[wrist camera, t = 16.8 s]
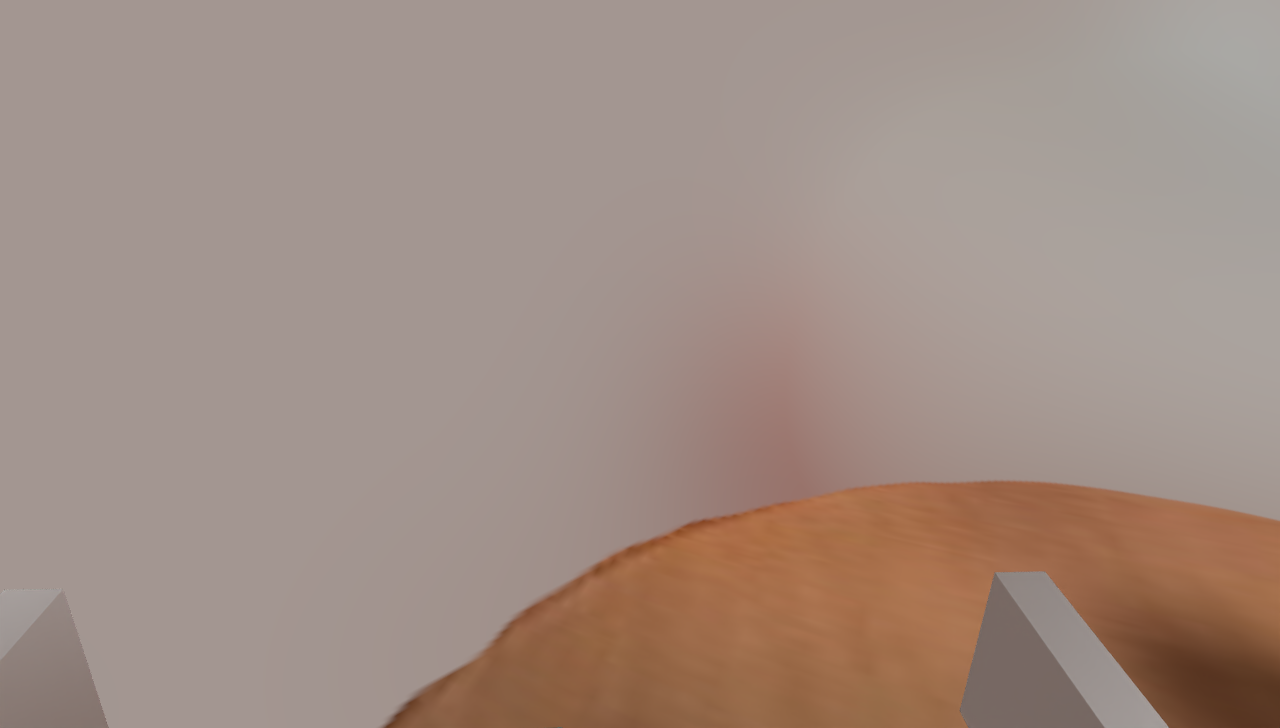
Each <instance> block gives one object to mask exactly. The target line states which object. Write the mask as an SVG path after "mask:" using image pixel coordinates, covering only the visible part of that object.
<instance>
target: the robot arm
mask: <svg viewBox="0 0 1280 728" xmlns="http://www.w3.org/2000/svg"><path fill="white" fill-rule="evenodd" d="M960 712H961V714H962V716H963V718H964V720H965V722H966V724H967V726H968V728H1169V727H1168V726H1167V724H1166V723H1165V722H1164V721H1163V719H1162V718H1161V717H1160V716H1159V714H1158V713H1157V712H1156V711H1155V709H1154V708H1153V707H1152V706H1151V704H1150V703H1149V702H1148V701H1147V699H1146V698H1145V697H1144V695H1143V694H1142V693H1141V692H1140V690H1139V689H1138V688H1137V687H1136V685H1135V684H1134V683H1133V682H1132V680H1131V679H1130V678H1129V677H1128V675H1127V674H1126V673H1125V672H1124V670H1123V669H1122V668H1121V667H1120V665H1119V664H1118V663H1117V662H1116V660H1115V659H1114V658H1113V657H1112V655H1111V654H1110V653H1109V651H1108V650H1107V649H1106V648H1105V646H1104V645H1103V644H1102V643H1101V641H1100V640H1099V639H1098V638H1097V636H1096V635H1095V634H1094V633H1093V631H1092V630H1091V629H1090V628H1089V626H1088V625H1087V624H1086V623H1085V621H1084V620H1083V619H1082V618H1081V616H1080V615H1079V614H1078V613H1077V611H1076V610H1075V609H1074V608H1073V606H1072V605H1071V604H1070V602H1069V601H1068V600H1067V599H1066V597H1065V596H1064V595H1063V594H1062V592H1061V591H1060V590H1059V589H1058V587H1057V586H1056V585H1055V584H1054V582H1053V581H1052V580H1051V579H1050V577H1049V576H1048V575H1047V574H1046V572H996V573H995V574H994V578H993V581H992V585H991V589H990V593H989V597H988V601H987V605H986V609H985V613H984V617H983V621H982V625H981V629H980V633H979V637H978V641H977V645H976V649H975V652H974V656H973V660H972V664H971V668H970V672H969V676H968V680H967V684H966V688H965V692H964V696H963V700H962V704H961V708H960ZM0 728H108V725H107V722H106V719H105V716H104V713H103V710H102V706H101V703H100V700H99V697H98V695H97V691H96V688H95V685H94V682H93V679H92V676H91V673H90V670H89V667H88V664H87V660H86V657H85V654H84V651H83V648H82V645H81V642H80V639H79V636H78V633H77V630H76V627H75V624H74V621H73V618H72V615H71V611H70V608H69V605H68V602H67V599H66V596H65V593H64V590H63V589H33V590H32V589H30V590H4V591H3V592H2V593H1V594H0Z"/></svg>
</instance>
